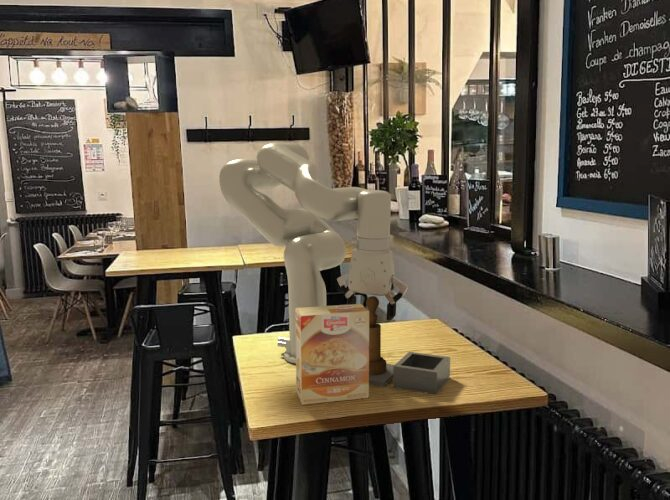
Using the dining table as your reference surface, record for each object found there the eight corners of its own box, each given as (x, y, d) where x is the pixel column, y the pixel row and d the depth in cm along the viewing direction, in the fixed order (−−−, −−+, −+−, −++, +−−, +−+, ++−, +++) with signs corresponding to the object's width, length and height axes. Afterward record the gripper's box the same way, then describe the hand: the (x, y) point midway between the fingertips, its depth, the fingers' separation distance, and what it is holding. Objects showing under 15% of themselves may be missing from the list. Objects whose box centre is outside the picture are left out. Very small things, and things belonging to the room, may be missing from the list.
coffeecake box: (301, 405, 131) (300, 315, 128) (295, 393, 138) (294, 307, 135) (370, 398, 135) (370, 310, 131) (361, 386, 141) (361, 302, 138)
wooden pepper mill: (363, 376, 144) (363, 300, 142) (354, 367, 151) (354, 294, 148) (390, 373, 146) (390, 298, 143) (381, 364, 152) (381, 292, 150)
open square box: (393, 387, 141) (393, 366, 140) (409, 371, 150) (409, 351, 150) (436, 394, 136) (437, 372, 136) (449, 377, 146) (450, 357, 145)
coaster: (343, 380, 145) (343, 376, 145) (363, 364, 156) (363, 360, 156) (384, 386, 141) (384, 382, 141) (401, 369, 152) (401, 365, 152)
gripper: (332, 243, 144) (330, 315, 147) (403, 250, 137) (400, 325, 140) (345, 238, 150) (344, 307, 154) (414, 245, 143) (411, 317, 146)
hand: (370, 316), depth 147 cm, fingers open, 9 cm apart
